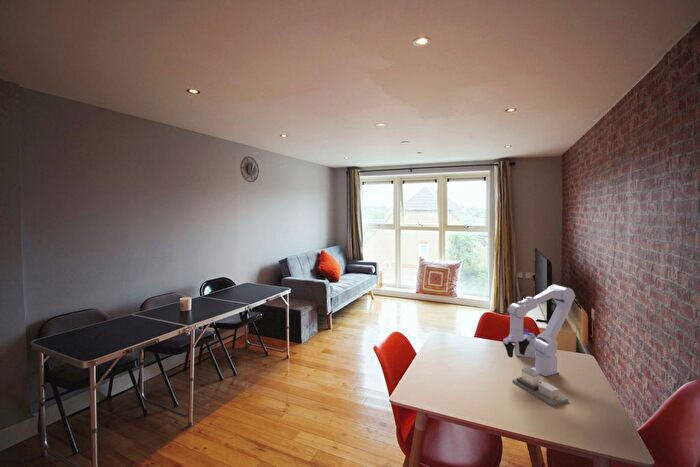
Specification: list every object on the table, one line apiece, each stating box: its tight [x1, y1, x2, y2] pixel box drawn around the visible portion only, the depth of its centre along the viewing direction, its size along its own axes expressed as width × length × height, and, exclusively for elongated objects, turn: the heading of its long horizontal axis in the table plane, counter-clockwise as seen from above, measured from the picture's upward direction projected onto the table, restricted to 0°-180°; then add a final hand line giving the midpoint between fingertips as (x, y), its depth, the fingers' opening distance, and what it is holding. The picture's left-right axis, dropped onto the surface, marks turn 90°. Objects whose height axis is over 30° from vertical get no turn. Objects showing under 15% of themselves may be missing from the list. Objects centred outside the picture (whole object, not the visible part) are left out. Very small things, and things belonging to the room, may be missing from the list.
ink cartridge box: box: [514, 328, 537, 359], centre depth 175 cm, size 10×6×14 cm, turn 72°
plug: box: [521, 367, 541, 387], centre depth 143 cm, size 4×6×6 cm, turn 20°
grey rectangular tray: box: [512, 376, 569, 407], centre depth 139 cm, size 9×20×5 cm, turn 20°
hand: (516, 355), depth 154 cm, fingers open, 7 cm apart
